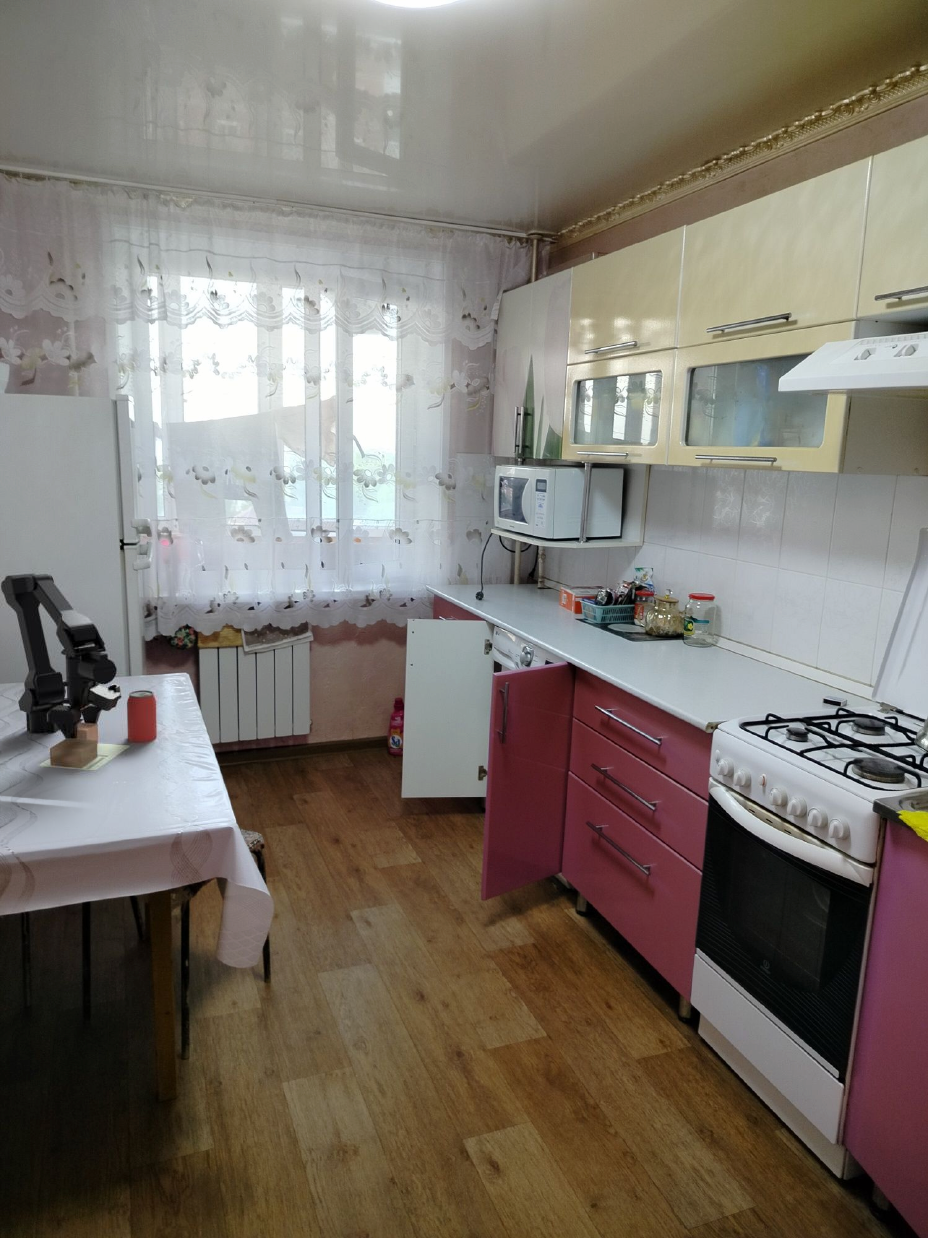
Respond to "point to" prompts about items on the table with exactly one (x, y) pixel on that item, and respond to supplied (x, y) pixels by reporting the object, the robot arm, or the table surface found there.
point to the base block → (73, 753)
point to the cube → (87, 731)
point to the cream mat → (103, 753)
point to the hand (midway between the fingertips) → (82, 740)
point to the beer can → (141, 716)
